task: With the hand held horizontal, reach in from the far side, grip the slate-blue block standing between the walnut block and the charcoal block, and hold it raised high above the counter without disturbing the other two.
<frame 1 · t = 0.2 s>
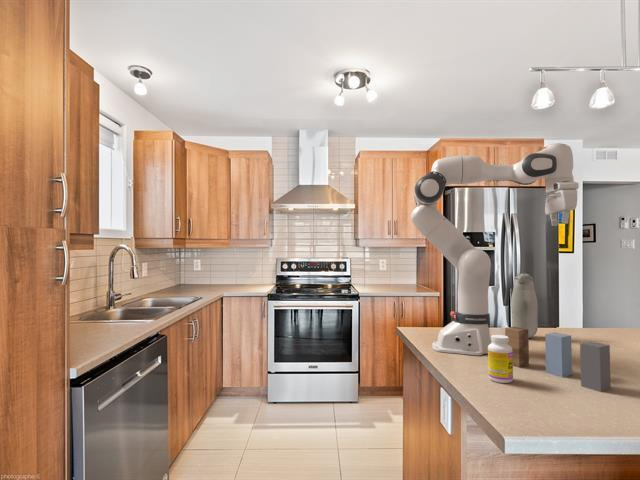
hand: (559, 224, 142), 48 cm above the countertop, tool pointing down, fingers open, 8 cm apart
grey-green tall rounded cylinder: (524, 338, 167), on the countertop
walnut block: (517, 364, 128), on the countertop
charcoal block: (595, 387, 107), on the countertop
slate-blue block: (558, 373, 119), on the countertop
supplement bottle: (500, 380, 113), on the countertop
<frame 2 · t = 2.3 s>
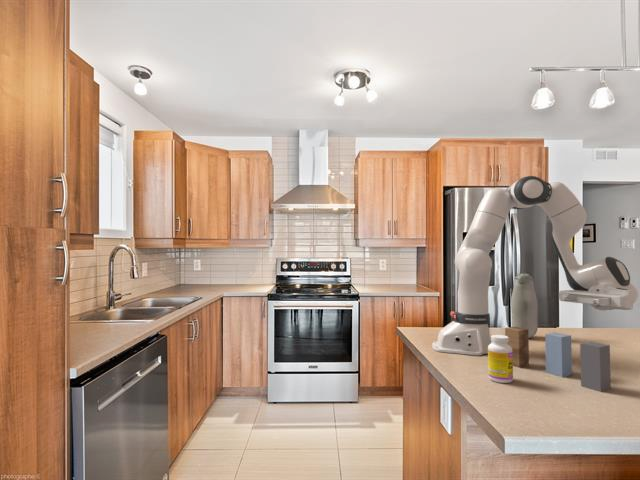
hand: (579, 299, 125), 22 cm above the countertop, tool horizontal, fingers open, 8 cm apart
nothing on the countertop moved.
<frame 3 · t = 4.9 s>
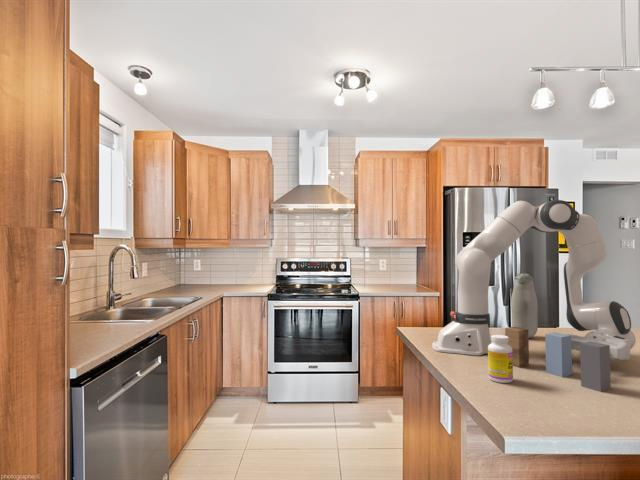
hand: (576, 348, 124), 6 cm above the countertop, tool horizontal, fingers open, 8 cm apart
nothing on the countertop moved.
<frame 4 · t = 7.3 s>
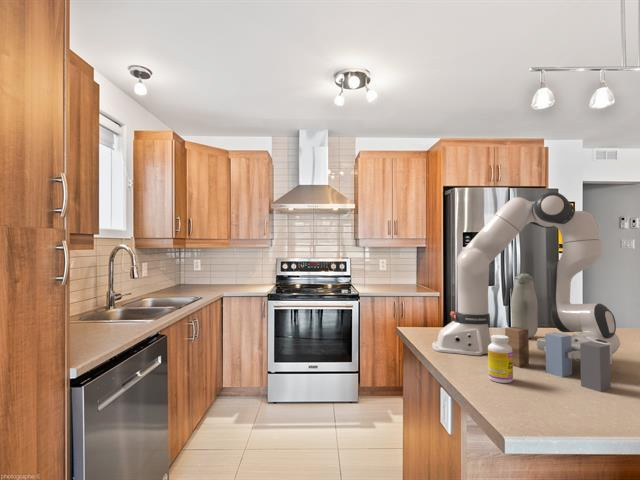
hand: (556, 352, 119), 7 cm above the countertop, tool horizontal, fingers closed on slate-blue block, 5 cm apart
slate-blue block: (558, 373, 119), on the countertop, touching gripper
everything else where it was.
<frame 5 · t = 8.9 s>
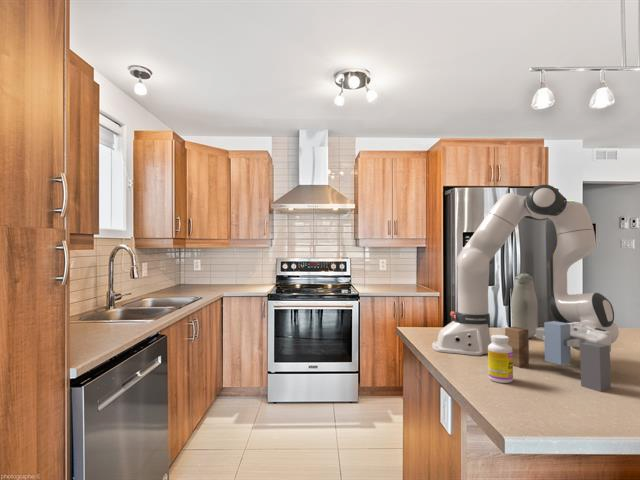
hand: (555, 341, 119), 10 cm above the countertop, tool horizontal, fingers closed on slate-blue block, 5 cm apart
slate-blue block: (557, 361, 119), point 4 cm above the countertop, touching gripper
everything else where it was.
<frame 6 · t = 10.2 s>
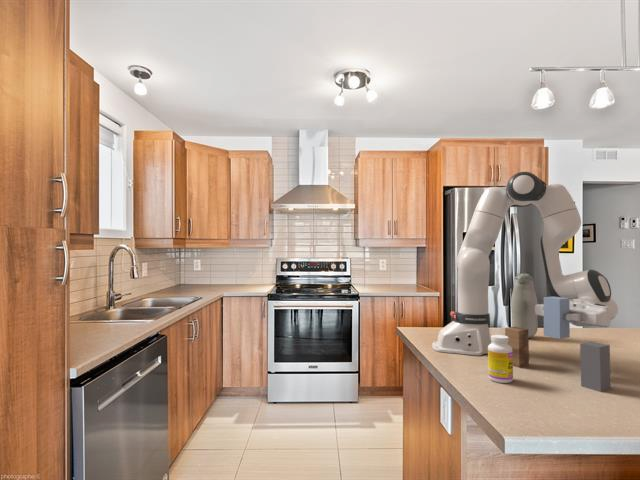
hand: (554, 315, 119), 18 cm above the countertop, tool horizontal, fingers closed on slate-blue block, 5 cm apart
slate-blue block: (556, 336, 119), point 11 cm above the countertop, touching gripper
everything else where it was.
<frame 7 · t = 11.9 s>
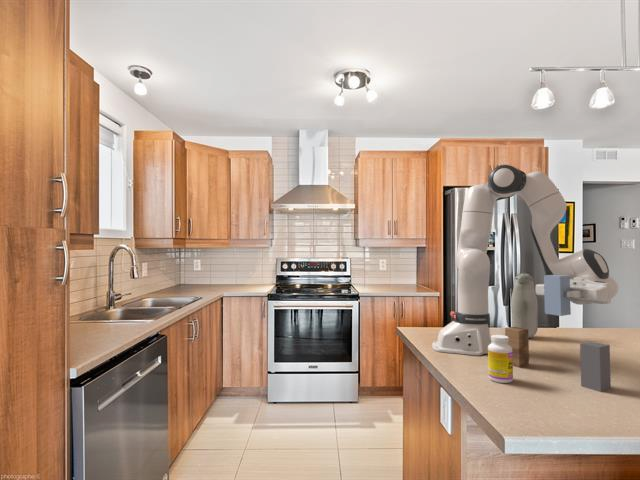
hand: (555, 293, 119), 25 cm above the countertop, tool horizontal, fingers closed on slate-blue block, 5 cm apart
slate-blue block: (557, 314, 119), point 18 cm above the countertop, touching gripper
everything else where it was.
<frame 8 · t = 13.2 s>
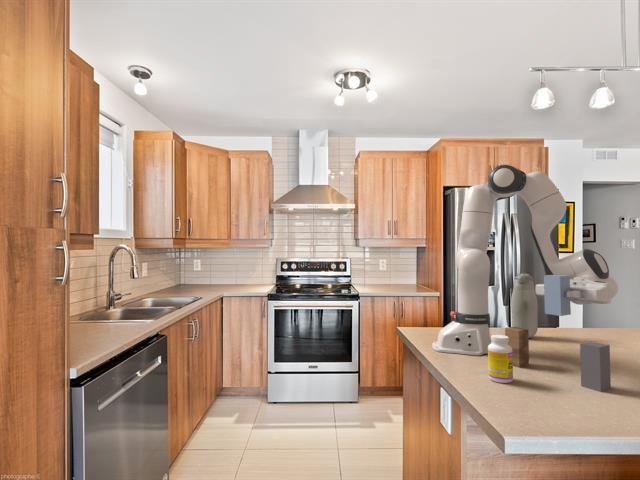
hand: (555, 293, 119), 25 cm above the countertop, tool horizontal, fingers closed on slate-blue block, 5 cm apart
slate-blue block: (557, 314, 119), point 18 cm above the countertop, touching gripper
everything else where it was.
at the end: the gripper is holding slate-blue block; slate-blue block point 18.4 cm above the countertop; charcoal block moved 0.0 cm from its start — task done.
